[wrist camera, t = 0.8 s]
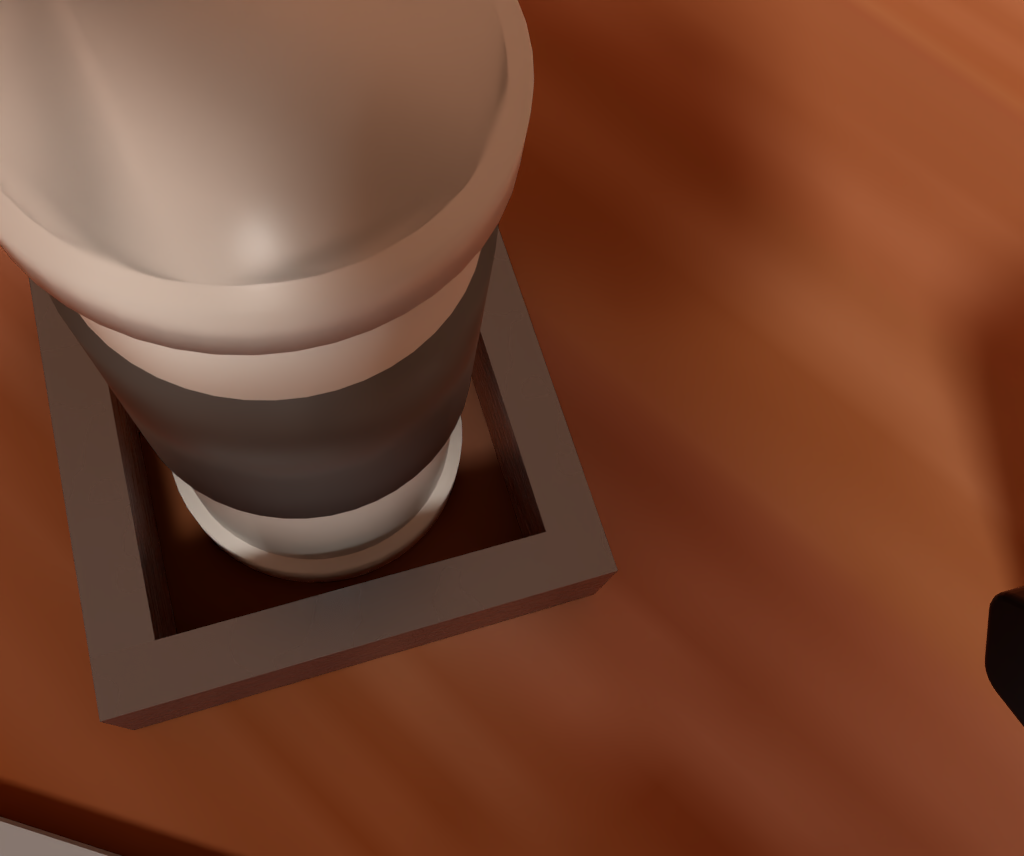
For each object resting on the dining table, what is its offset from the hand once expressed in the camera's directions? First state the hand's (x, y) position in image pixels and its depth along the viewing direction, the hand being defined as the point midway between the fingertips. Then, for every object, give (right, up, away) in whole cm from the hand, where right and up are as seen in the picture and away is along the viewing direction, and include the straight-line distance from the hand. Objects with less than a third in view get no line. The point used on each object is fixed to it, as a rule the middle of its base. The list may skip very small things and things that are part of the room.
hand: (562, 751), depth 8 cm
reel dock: (-5, +2, +14) cm, 15 cm away
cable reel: (-5, +2, +14) cm, 15 cm away
